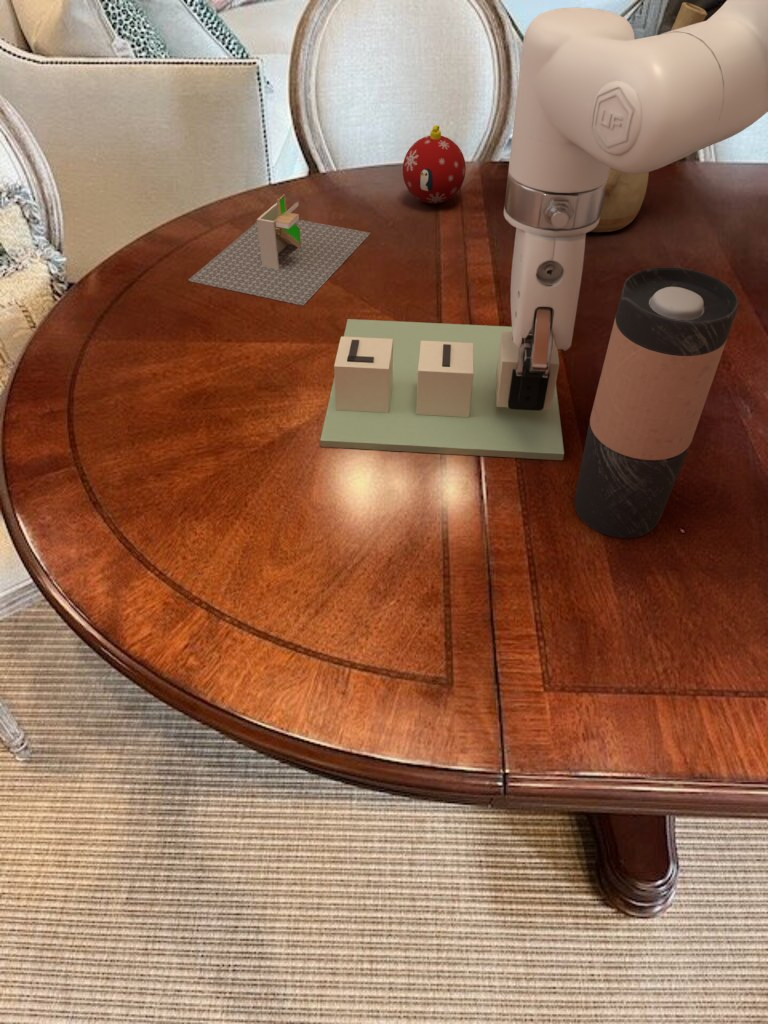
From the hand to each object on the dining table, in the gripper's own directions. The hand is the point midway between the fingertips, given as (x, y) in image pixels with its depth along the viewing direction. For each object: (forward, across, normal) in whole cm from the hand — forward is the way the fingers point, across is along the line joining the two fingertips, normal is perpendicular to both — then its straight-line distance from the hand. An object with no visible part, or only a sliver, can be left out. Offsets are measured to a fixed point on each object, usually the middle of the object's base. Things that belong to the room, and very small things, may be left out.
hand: (524, 387), depth 74 cm
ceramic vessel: (+3, +44, -10) cm, 46 cm away
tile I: (+2, 0, +8) cm, 8 cm away
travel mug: (+3, -13, -8) cm, 15 cm away
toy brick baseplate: (+3, +30, +28) cm, 41 cm away
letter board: (+3, +4, +8) cm, 9 cm away
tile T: (+1, 0, 0) cm, 1 cm away
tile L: (+2, 0, +15) cm, 15 cm away
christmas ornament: (+3, +48, +10) cm, 49 cm away
